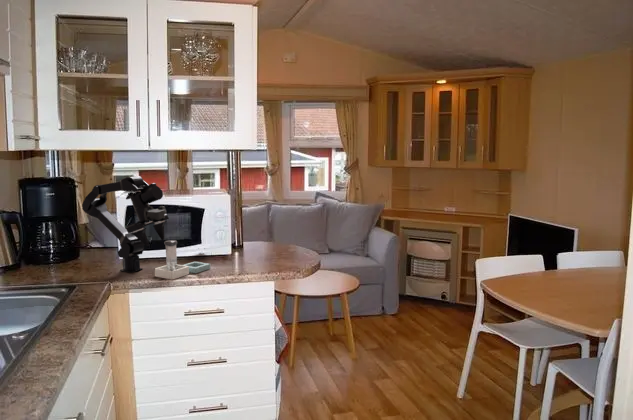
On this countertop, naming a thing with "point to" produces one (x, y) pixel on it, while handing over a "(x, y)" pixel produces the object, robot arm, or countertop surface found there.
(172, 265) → the salt shaker
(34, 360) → the countertop surface
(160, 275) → the tray
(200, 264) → the collar
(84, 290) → the countertop surface
